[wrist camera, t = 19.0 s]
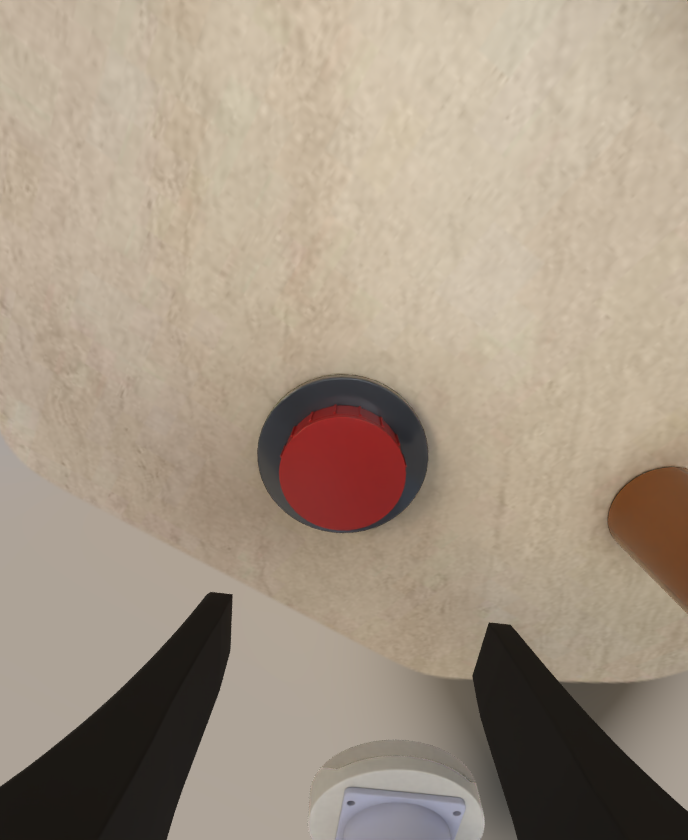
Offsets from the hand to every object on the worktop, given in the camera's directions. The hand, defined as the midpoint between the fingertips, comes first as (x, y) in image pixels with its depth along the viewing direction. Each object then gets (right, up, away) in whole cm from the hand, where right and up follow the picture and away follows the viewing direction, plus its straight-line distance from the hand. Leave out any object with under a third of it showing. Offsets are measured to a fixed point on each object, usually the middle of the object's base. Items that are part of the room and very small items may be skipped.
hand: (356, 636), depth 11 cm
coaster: (0, +4, +8) cm, 9 cm away
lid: (0, +4, +6) cm, 7 cm away
